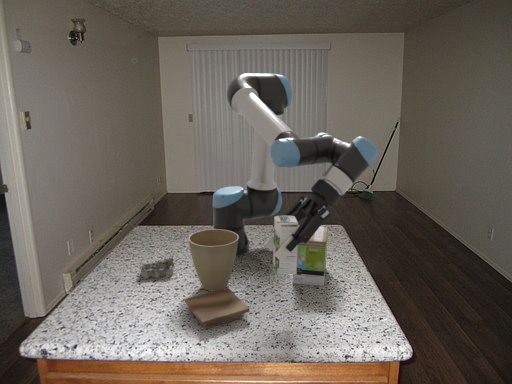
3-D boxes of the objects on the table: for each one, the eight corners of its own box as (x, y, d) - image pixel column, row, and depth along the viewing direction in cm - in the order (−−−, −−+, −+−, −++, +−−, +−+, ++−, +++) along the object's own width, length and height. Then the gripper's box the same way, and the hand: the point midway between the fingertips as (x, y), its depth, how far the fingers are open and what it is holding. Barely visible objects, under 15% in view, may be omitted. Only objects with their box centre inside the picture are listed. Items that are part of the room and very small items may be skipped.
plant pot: (203, 303, 111) (201, 250, 108) (183, 282, 124) (180, 234, 120) (248, 289, 119) (248, 239, 115) (225, 271, 131) (224, 226, 128)
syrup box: (272, 266, 108) (272, 215, 104) (293, 265, 108) (295, 214, 105) (275, 275, 102) (275, 222, 99) (297, 274, 103) (299, 221, 99)
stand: (185, 308, 108) (184, 298, 108) (228, 297, 114) (228, 287, 114) (202, 332, 97) (202, 321, 97) (249, 318, 103) (249, 308, 103)
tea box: (324, 287, 120) (326, 241, 117) (292, 284, 122) (292, 239, 119) (326, 266, 135) (328, 225, 131) (297, 264, 137) (297, 223, 133)
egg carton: (175, 268, 135) (174, 257, 134) (173, 278, 128) (172, 266, 127) (143, 269, 134) (142, 258, 133) (139, 279, 127) (138, 267, 126)
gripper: (359, 206, 96) (297, 276, 95) (321, 188, 114) (268, 247, 113) (341, 186, 93) (277, 259, 92) (305, 171, 111) (251, 232, 110)
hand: (272, 252), depth 103 cm, fingers closed on syrup box, 7 cm apart
